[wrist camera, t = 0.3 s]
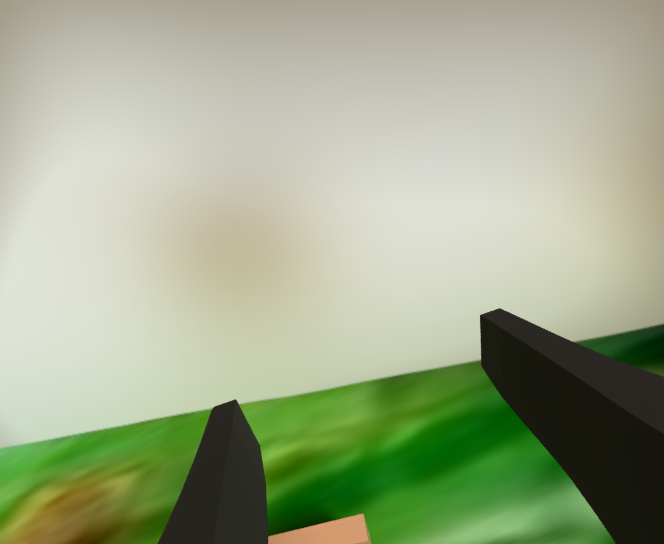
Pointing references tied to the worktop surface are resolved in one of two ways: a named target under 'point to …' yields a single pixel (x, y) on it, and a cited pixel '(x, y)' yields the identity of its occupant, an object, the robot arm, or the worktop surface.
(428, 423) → the worktop surface
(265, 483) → the robot arm
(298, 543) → the rail
